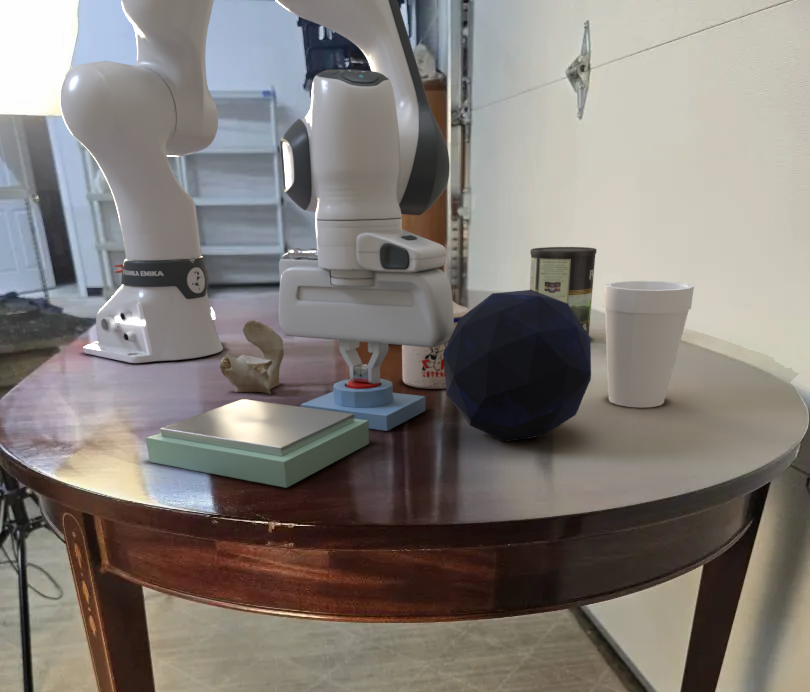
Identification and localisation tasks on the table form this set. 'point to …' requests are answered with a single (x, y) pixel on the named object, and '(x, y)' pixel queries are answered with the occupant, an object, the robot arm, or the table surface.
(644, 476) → the table surface
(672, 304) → the foam cup
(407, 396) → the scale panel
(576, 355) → the decorative orb
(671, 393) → the table surface
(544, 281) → the coffee can
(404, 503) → the table surface
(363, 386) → the button
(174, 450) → the scale
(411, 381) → the teacup with lid
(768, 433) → the table surface
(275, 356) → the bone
